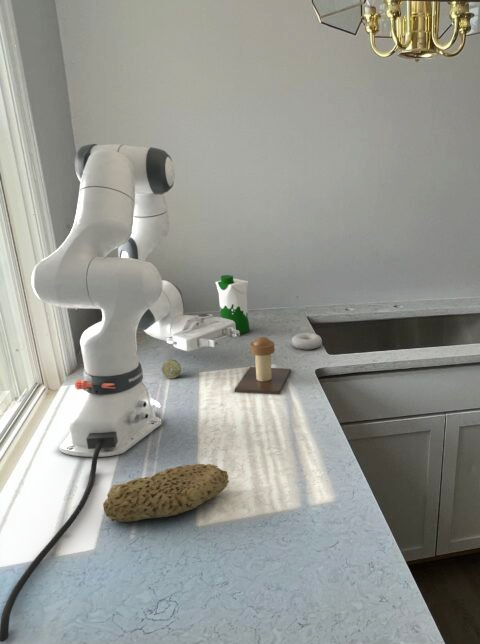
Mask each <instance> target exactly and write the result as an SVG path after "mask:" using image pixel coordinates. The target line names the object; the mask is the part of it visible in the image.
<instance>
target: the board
mask: <svg viewBox="0 0 480 644" xmlns="http://www.w3.org/2000/svg"><path fill="white" fill-rule="evenodd" d="M291 372H292V369H291V368H284V367H283V368H281V367H271V374H272V379H271V380H268V381H258V380H257V379H256V366H250V367H249V368H248V369H247V371H246V372H245V374H244V375H243V377H242V378H241V379H240V381H239V382H238V384H237V385H236V386H235V388H234V393H249V394H271V395H280V393H281V391H282V389H283V387H284V385H285V384H286V381H287V379H288V378H289V376H290V373H291Z"/></svg>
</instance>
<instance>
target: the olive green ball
mask: <svg viewBox="0 0 480 644" xmlns="http://www.w3.org/2000/svg"><path fill="white" fill-rule="evenodd" d="M161 371H162V374H163V375H164V377H166V378H167V379H175V378H177V377H178V376H180V375H181V372H182V367H181V364H180V363H179V362H178V361H177V360H174V359H168V360H166V361H165V362H164V363H163V365H162V367H161Z"/></svg>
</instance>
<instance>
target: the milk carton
mask: <svg viewBox="0 0 480 644" xmlns="http://www.w3.org/2000/svg"><path fill="white" fill-rule="evenodd" d="M248 285H249V281H248V280H243V279H239V278H234V275H229V274H226V275H225V274H224V275H221V276H220V280H217V281H215V286H216V289H217V292H218V301H219V313H220V314H219V315H220V317H221V318H226V319H229V320H233V321H234V322H235V325H236V330H238V331H239V332H240V335H244V334H245V333H249V332H250V331H251V329H250V323H249V314H248V313H249V311H248V299H247V298H248V296H247V291H248Z"/></svg>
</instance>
